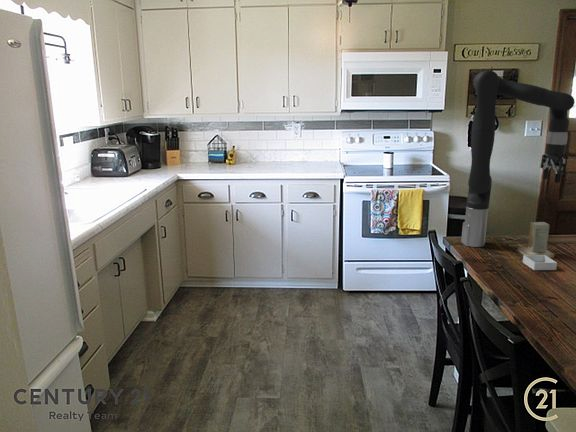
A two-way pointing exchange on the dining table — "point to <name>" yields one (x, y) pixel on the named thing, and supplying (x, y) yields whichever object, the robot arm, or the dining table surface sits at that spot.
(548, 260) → the gray square frame
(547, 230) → the skincare box
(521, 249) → the birch board
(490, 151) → the robot arm
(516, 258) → the dining table surface
